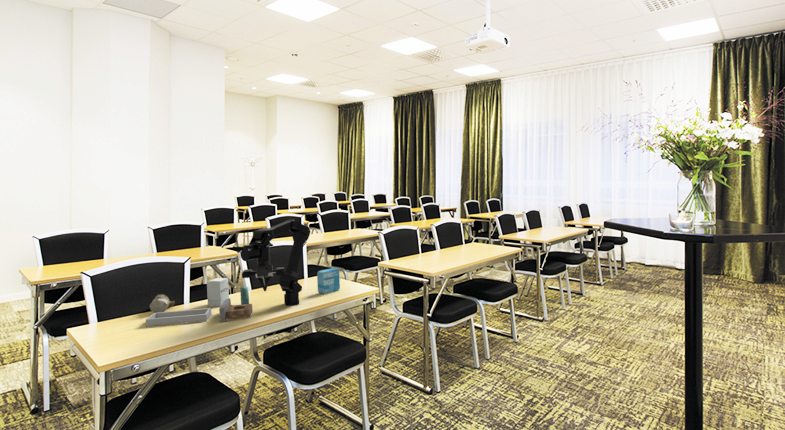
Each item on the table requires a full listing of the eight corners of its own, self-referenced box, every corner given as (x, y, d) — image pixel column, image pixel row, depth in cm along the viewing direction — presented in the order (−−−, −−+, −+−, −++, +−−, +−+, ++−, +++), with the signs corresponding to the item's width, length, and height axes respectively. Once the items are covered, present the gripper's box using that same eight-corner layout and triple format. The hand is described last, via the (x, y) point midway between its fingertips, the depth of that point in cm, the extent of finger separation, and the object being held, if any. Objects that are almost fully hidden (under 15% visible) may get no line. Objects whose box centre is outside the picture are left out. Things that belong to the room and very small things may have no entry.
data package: (323, 294, 222) (322, 272, 221) (317, 293, 225) (316, 271, 224) (340, 290, 231) (339, 268, 230) (334, 288, 234) (333, 267, 233)
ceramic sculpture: (143, 297, 192) (151, 291, 206) (144, 316, 192) (152, 309, 206) (169, 294, 195) (175, 289, 210) (170, 313, 195) (176, 306, 210)
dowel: (249, 306, 203) (248, 286, 202) (248, 308, 199) (247, 288, 199) (241, 307, 202) (240, 287, 201) (240, 309, 199) (239, 288, 198)
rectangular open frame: (211, 314, 192) (211, 308, 192) (206, 321, 182) (206, 314, 182) (154, 319, 187) (153, 312, 187) (146, 326, 177) (145, 319, 177)
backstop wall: (231, 310, 196) (230, 298, 196) (225, 321, 181) (224, 307, 180) (226, 311, 196) (225, 298, 196) (220, 322, 180) (219, 308, 180)
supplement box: (221, 306, 204) (219, 281, 203) (207, 306, 206) (206, 281, 205) (229, 302, 211) (228, 277, 210) (216, 302, 213) (215, 277, 212)
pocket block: (252, 312, 195) (252, 303, 195) (249, 318, 185) (249, 309, 185) (229, 314, 193) (229, 305, 193) (226, 320, 183) (225, 311, 183)
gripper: (238, 261, 181) (241, 297, 182) (283, 259, 184) (285, 293, 185) (242, 257, 191) (244, 291, 193) (284, 254, 195) (286, 287, 196)
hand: (265, 291), depth 191 cm, fingers closed
